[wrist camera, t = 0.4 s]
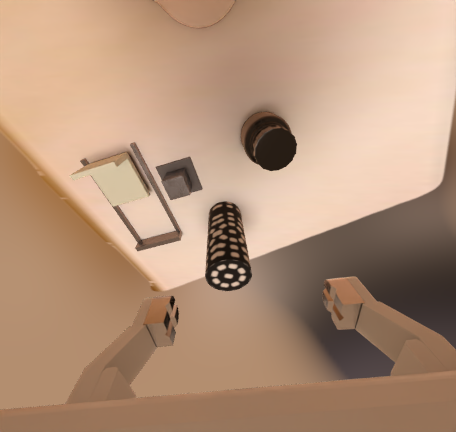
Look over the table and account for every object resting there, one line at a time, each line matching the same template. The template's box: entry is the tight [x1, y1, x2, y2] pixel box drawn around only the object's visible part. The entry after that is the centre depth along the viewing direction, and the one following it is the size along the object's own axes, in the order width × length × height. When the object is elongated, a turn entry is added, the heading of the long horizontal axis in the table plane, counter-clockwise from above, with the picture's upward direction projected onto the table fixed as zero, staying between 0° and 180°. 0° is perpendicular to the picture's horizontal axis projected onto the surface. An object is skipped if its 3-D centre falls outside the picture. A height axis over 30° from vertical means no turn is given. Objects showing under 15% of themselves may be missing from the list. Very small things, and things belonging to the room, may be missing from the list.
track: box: [81, 143, 182, 251], centre depth 48 cm, size 25×12×3 cm, turn 16°
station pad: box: [156, 157, 202, 192], centre depth 46 cm, size 8×8×1 cm
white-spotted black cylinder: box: [205, 202, 252, 291], centre depth 44 cm, size 8×8×20 cm
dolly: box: [70, 152, 150, 207], centre depth 42 cm, size 10×9×8 cm
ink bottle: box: [241, 112, 297, 171], centre depth 37 cm, size 10×9×12 cm
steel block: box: [161, 167, 193, 200], centre depth 44 cm, size 4×4×5 cm
